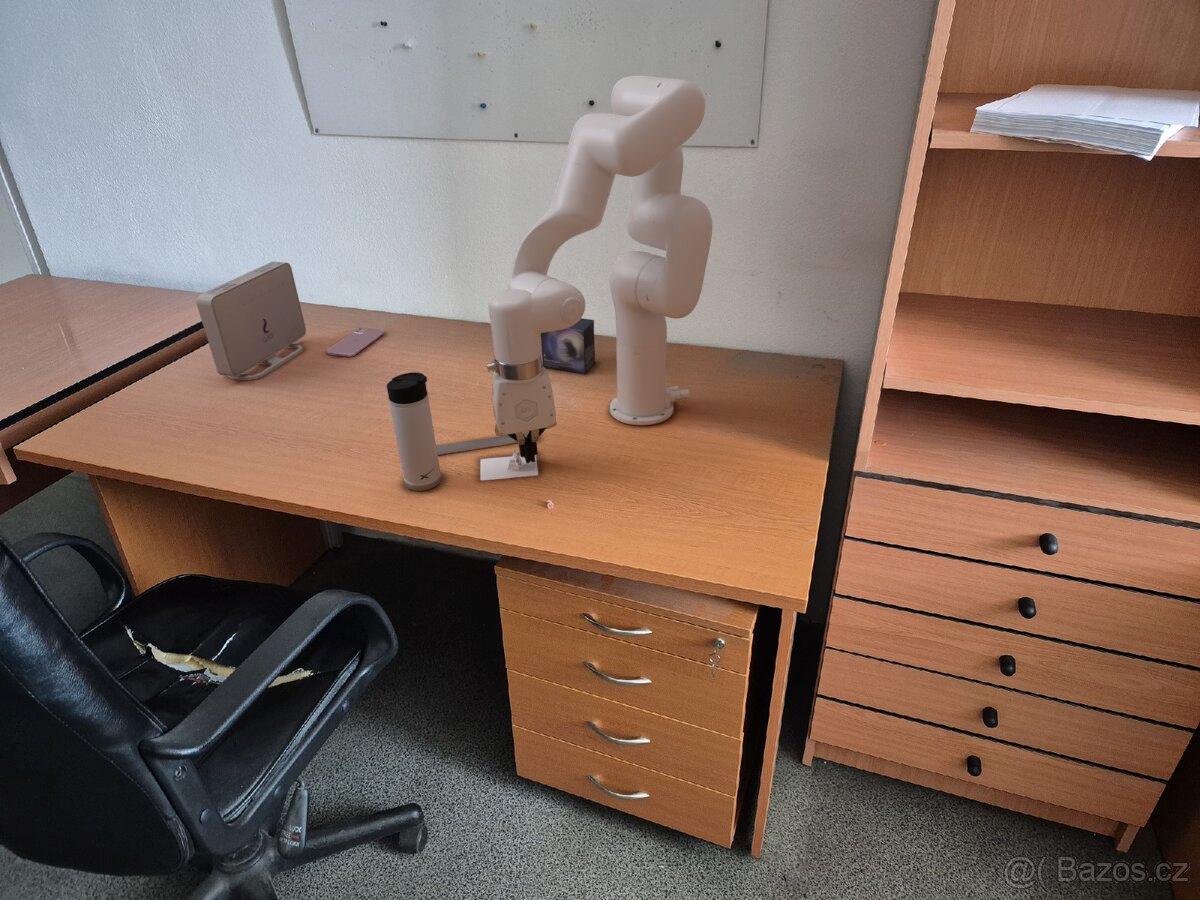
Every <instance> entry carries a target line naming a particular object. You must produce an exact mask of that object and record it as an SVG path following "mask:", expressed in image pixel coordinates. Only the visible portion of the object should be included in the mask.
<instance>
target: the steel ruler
mask: <svg viewBox="0 0 1200 900" xmlns="http://www.w3.org/2000/svg"><path fill="white" fill-rule="evenodd" d="M528 433H529V431H525V432H523V434H524V435H525V437H527V435H528ZM515 444H519V443H518V442H517V441H516V440H514V439H512V438H511V437H509V436H507V437H505V436H494V437H487V438H482V439H475V440H468V441H462V442H461V441H460V442H456V443H455V442H454V443H449V444H442V445H436V448H437V455H438V456H445V455H451V454H457V453H458V454H459V453H464V452H471V451H476V450H483V449H490V448H495V447H501V446H507V445H515Z"/></svg>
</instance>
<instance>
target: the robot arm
mask: <svg viewBox="0 0 1200 900" xmlns="http://www.w3.org/2000/svg"><path fill="white" fill-rule="evenodd" d="M611 90H612V91H611V94H610V106H611V110H612V113H608V112H607V113H605V112H591V113H587V114H584V115H583V116H581V117H580V118H579V119H578V120H577V121H576V122H575V124H574V126H573V128H572V130H571V134H570V137H569V140H568V145H567V148H566V151H565V155H564V157H563V163H562V166H561V170H560V173H559V178H558V180H557V185H556V187H555V190H554V194H553V197H552V200H551V203H550V206H549V208H548V210H547V211H546V212H545V213H544V214H543V215H541V217H540V218H539V219H538V220H537V221H536V222H535V224H533V226H532V227H531V228H530V229H529V231H528V232H527V233H526V235H525V236H524V237H523V239H522V241H521V242H520V244H519V245H518V248H517V250H516V252H515V256H514V259H513V263H512V265H511V270H510V274H509V278H508V284H507V289H504V290H501V291H497V292H496V293H494V294H492V295H491V297H490V299H489V301H488V314H489V322H490V329H491V339H492V345H493V346H492V347H493V351H494V352H493V354H494V356H493V357H494V359H493V361H491V362H489V363H486V368H487V372H494V373H493V377H492V378H493V379H492V408H493V415H494V416H493V418H494V420H495V426H494V432H495V433H494V434H495V435H496V437H500V436H505V437H507V436H509V437H511V438H512V439H514V440H516V441H517V442H518V443H517V444H518V448H519V456H521V458H522V457H524V458H525V460H526V463H530V462H535V455H536V456H538V454H539V451H538V441H539V439H540V437H541V436H542V434H543V433H544V432H545V431H546V430H549V429H551V428H554V427H556V426H557V424H558V423H557V414H556V406H555V399H554V393H553V387H552V383H551V379H550V375H549V372H548V370H547V368H546V367H543V361H542V349H541V338H540V335H541V333H544V332H550V331H556V330H562V329H566V328H569V327H571V326H573V325H574V324H576V323H577V322H578V321H579V320H580V319H581V318H583V316H584V313H585V311H586V299H585V297H584V295H583V293H582V291H580V290H579V289H578V288H577V287H576V286H575V285H572V284H570V283H567V282H565V281H562V280H559V279H557V278H554V277H552V276H549V275H548V272H549V268H550V265H551V262H552V260H553V258H554V256H555V254H556V253H557V251H558V250H559V249H560V248H561V247H562V246H563V245H564V244H565V243H566V242H568V241H569V240H571V239H572V238H574V237H577V236H579V235H581V234H584V233H587V232H590V231H593V230H595V229H597V228H598V227H599V226H600V225H601V224H602V222H603V219H604V215H605V212H606V209H607V206H608V201H609V198H610V194H611V191H612V188H613V185H614V181H615V178H616V175H618V176H623V177H628V178H629V177H630V178H631V183H630V190H629V198H628V204H627V205H628V206H627V212H626V223H625V224H626V225H625V226H626V231H627V234H628V236H629V237H630V238H631V239H632V240H633V241H634V242H637V243H639V244H641V245H644V246H646V247H647V246H648V247H651V248H654V249H658V250H662V251H665V256H661V255H657V254H653V253H650V252H646V251H641V250H630V251H627V252H624V253H622V254H621V255H619V256H618V257H616V259H615V261H614V262H613V264H612V265H611V268H610V273H609V288H610V293H611V298H612V302H613V308H614V313H615V314H614V315H615V335H616V336H615V338H616V339H615V341H616V342H615V344H616V351H615V352H616V397H614V398H613V399H612V400H611V401H610V403H609V414H610V415H611V417H613V419H615V420H617V421H619V422H621V423H623V424H627V425H632V426H650V425H656V424H659V423H662V422H664V421H666V420H668V419H669V418H671V416H672V415H673V413H674V403H675V402H676V401H683V400H689V399H690V397H691V395H690V390H689V389H688V388H685V389H680V388H679V386H678V385H675V386H669V387H668V386H667V348H668V347H667V345H668V343H667V341H668V340H667V339H668V324H667V318H670V319H675V320H677V319H679V320H680V319H683V318H686V317H687V316H689V315H690V314H691V313H692V312H693V311H694V310H695V308H696V306H697V305H698V303H699V300H700V297H701V294H702V290H703V285H704V281H705V274H706V270H707V264H708V258H709V252H710V248H711V242H712V237H713V236H712V235H713V219H712V215H711V212H710V209H709V207H708V206H707V204H705V202H703V201H702V200H700V199H698V198H696V197H693V196H689V195H685V194H681V189H682V181H683V171H684V153H683V147H682V145H684V144H685V143H686V142H687V141H688V140H689V139H691V138H692V137H693V135H694V134H695V133H696V132H697V131H698V129H699V128H700V126H701V124H702V123H703V119H704V116H705V112H706V99H705V96H704V94H703V92H702V90H701V88H700V87H699V86H698V85H697V84H695V83H694V82H693V81H690V80H687V79H682V78H673V77H660V76H653V75H652V76H651V75H638V74H637V75H636V74H635V75H628V76H624V77H622V78H620V79H619V80H618V81H617V82H616V83H615V84H614V85H613V87H612V89H611ZM526 432H529V433H528V435H527V437H525V435H524V434H523V433H526ZM530 460H531V461H530Z"/></svg>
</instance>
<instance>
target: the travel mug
mask: <svg viewBox="0 0 1200 900" xmlns="http://www.w3.org/2000/svg"><path fill="white" fill-rule="evenodd" d="M427 382H428V377H427V376H426V375H425V374H424V373H422V372H418V371H417V372H416V371H415V372H414V371H413V372H406V373H402V374H399V375H396V376H394V377H393V378H391V380H390V381H388V383H386V392H387V395H388V403H389V408H390V414H391V421H392V425H393V429H394V435H395V440H396V441H395V442H396V446H397V451H398V456H399V463H400V467H401V472H402V477H403V482H404V486H405V487H406V488H407V489H409V490H411V491H415V492H423V491H424V492H425V491H428V490H431V489H433V488H435V487H437V486H438V485H439V484H440V483H441V481H442V474H441V467H440V462H439V457H438V455H437V448H436V446H437V442H436V436H435V430H434V424H433V418H432V411H431V405H430V398H429V392H428V390H427Z"/></svg>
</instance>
